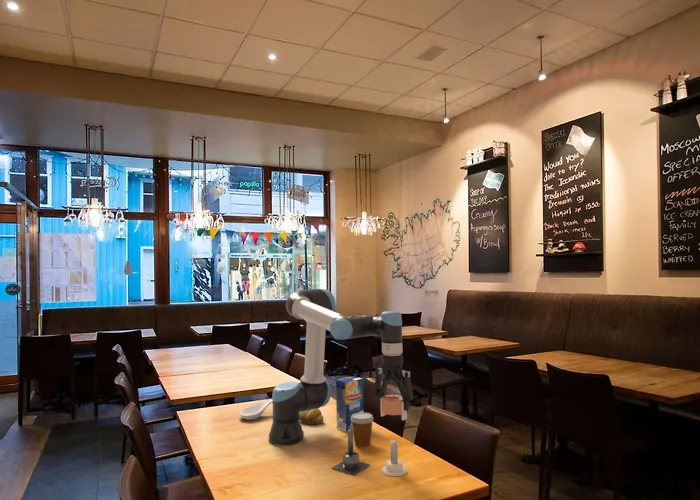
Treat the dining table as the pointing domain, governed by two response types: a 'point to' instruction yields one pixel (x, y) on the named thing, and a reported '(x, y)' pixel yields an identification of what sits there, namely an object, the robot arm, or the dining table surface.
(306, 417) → the bread roll
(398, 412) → the collar
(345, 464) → the stand
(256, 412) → the spoon rest
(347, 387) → the beverage box
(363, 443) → the disposable coffee cup
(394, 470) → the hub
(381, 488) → the dining table surface
